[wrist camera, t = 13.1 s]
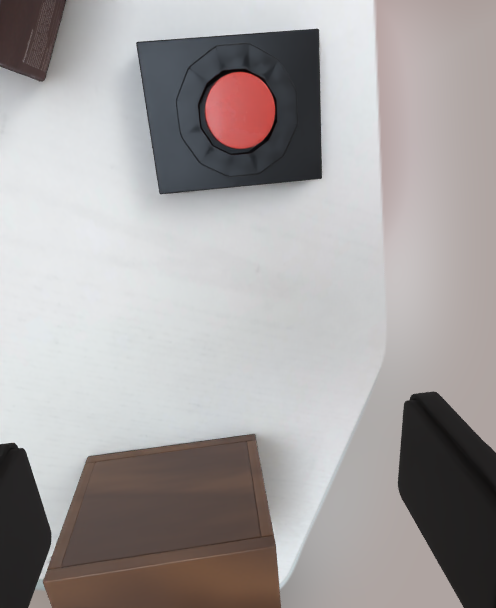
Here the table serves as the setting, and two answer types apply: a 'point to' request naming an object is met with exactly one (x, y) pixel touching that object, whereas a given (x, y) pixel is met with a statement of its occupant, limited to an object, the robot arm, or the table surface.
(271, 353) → the table surface
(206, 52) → the switch box
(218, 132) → the button
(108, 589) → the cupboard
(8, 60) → the box
